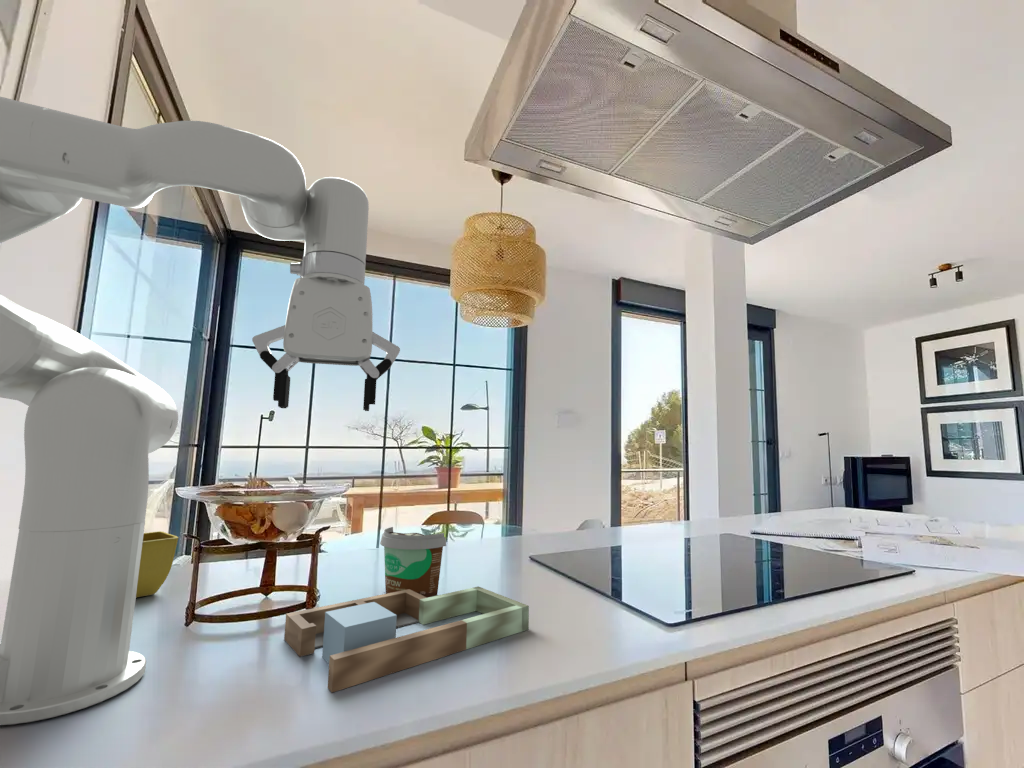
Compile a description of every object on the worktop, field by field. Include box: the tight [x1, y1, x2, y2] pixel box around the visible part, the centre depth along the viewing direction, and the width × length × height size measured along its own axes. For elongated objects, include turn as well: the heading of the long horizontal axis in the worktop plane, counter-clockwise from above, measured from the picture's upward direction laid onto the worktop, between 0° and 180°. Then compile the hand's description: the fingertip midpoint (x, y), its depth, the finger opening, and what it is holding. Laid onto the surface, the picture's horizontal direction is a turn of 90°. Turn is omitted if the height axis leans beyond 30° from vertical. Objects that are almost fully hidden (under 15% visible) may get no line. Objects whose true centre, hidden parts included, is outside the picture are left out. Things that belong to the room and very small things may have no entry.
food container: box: [379, 526, 447, 598], centre depth 77 cm, size 12×6×10 cm, turn 62°
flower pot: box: [136, 530, 179, 598], centre depth 74 cm, size 9×9×9 cm
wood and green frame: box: [283, 586, 530, 693], centre depth 60 cm, size 26×17×3 cm, turn 131°
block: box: [321, 602, 397, 664], centre depth 53 cm, size 6×6×5 cm
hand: (325, 408), depth 58 cm, fingers open, 9 cm apart
